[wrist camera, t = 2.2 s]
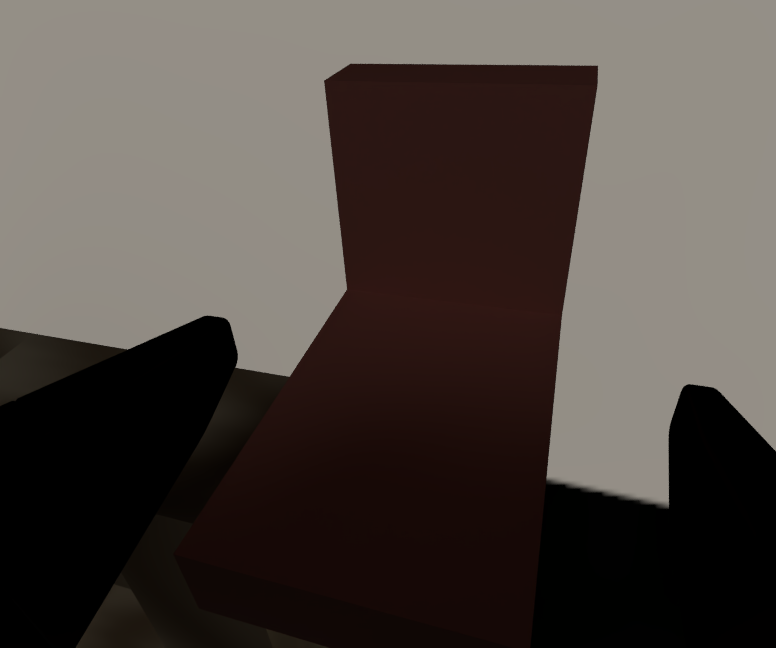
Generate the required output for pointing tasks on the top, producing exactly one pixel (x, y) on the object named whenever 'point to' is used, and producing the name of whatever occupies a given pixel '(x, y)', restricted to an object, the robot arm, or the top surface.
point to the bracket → (416, 374)
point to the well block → (175, 516)
